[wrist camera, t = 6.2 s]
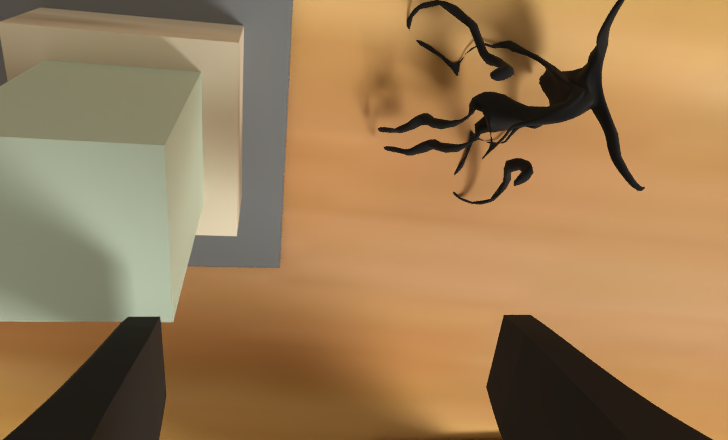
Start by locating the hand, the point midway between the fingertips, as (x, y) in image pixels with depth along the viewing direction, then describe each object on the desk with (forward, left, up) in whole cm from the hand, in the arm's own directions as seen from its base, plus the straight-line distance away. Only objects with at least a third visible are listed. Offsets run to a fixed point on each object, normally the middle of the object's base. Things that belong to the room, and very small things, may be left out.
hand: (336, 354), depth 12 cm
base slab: (+2, +5, -10) cm, 12 cm away
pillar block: (+2, +5, -7) cm, 9 cm away
